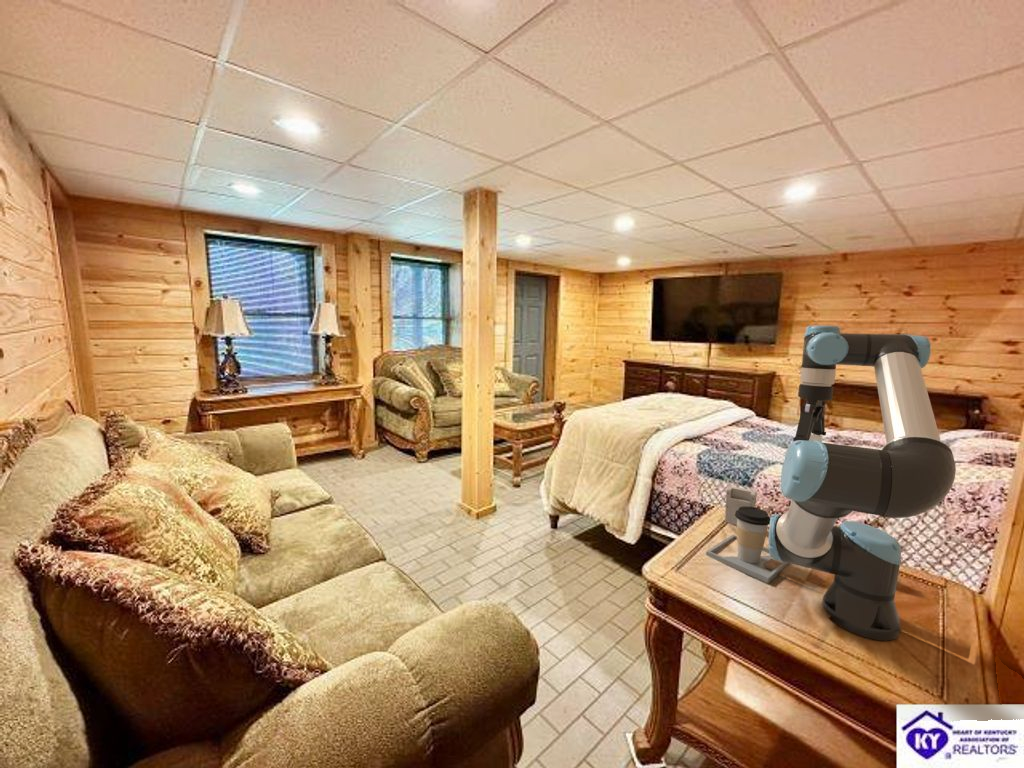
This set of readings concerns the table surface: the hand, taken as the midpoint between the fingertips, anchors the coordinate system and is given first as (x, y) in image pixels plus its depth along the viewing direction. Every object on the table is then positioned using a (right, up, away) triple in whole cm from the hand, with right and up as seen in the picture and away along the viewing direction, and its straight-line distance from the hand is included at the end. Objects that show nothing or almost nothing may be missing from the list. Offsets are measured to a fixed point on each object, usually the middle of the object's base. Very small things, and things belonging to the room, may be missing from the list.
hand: (807, 462), depth 117 cm
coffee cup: (-8, -32, +14) cm, 36 cm away
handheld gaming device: (-1, -30, +34) cm, 45 cm away
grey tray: (-8, -32, +14) cm, 36 cm away
